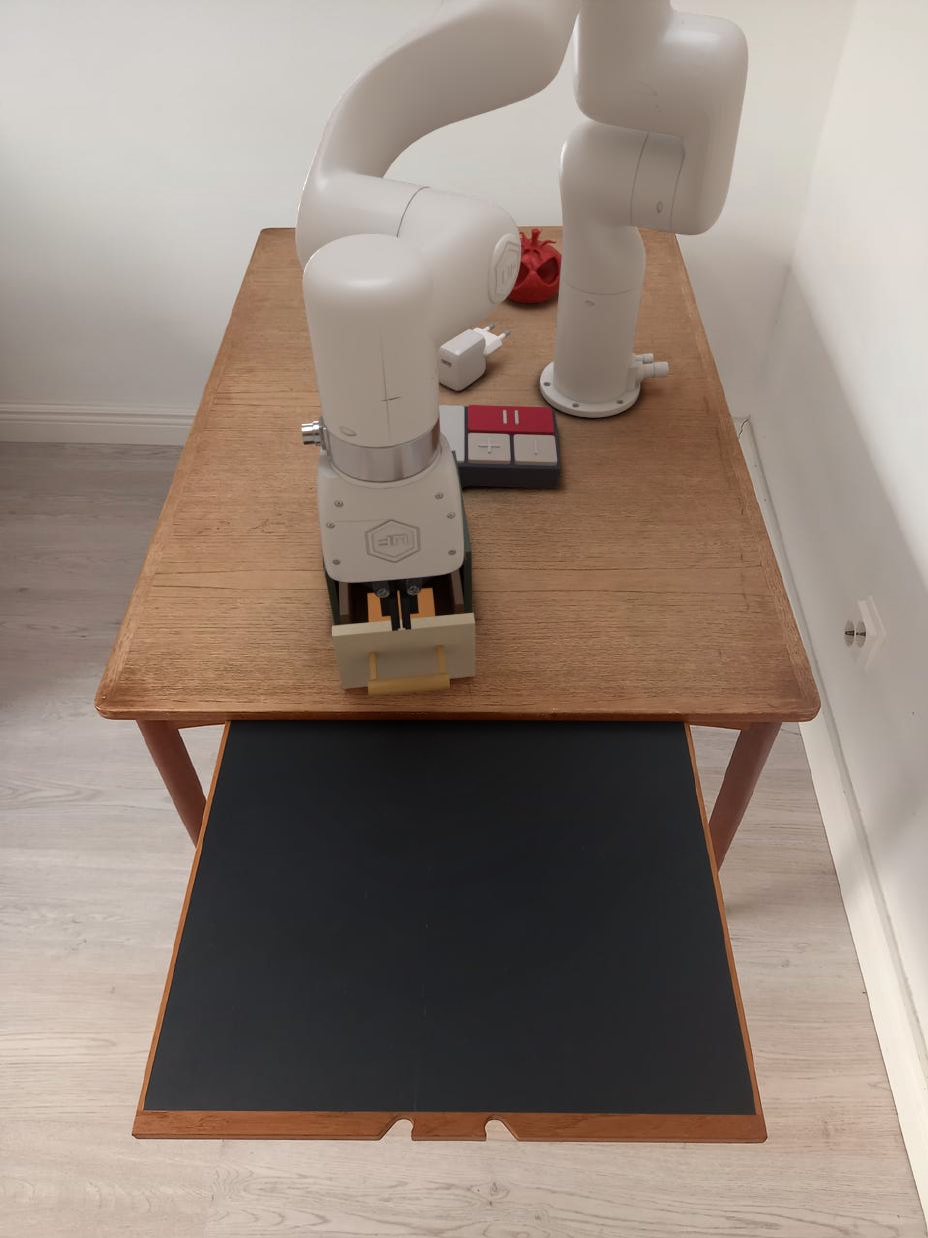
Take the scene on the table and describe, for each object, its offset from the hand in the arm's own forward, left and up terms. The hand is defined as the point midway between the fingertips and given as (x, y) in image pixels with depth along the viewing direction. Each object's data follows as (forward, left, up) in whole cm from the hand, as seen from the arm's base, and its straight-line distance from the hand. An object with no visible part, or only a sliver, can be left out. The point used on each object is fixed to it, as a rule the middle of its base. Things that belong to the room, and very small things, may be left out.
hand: (400, 616), depth 72 cm
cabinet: (0, -17, -13) cm, 21 cm away
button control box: (-12, -34, -13) cm, 38 cm away
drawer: (0, -7, -12) cm, 13 cm away
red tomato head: (-22, -70, -13) cm, 75 cm away
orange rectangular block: (0, -6, -11) cm, 12 cm away
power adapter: (-12, -52, -13) cm, 55 cm away
